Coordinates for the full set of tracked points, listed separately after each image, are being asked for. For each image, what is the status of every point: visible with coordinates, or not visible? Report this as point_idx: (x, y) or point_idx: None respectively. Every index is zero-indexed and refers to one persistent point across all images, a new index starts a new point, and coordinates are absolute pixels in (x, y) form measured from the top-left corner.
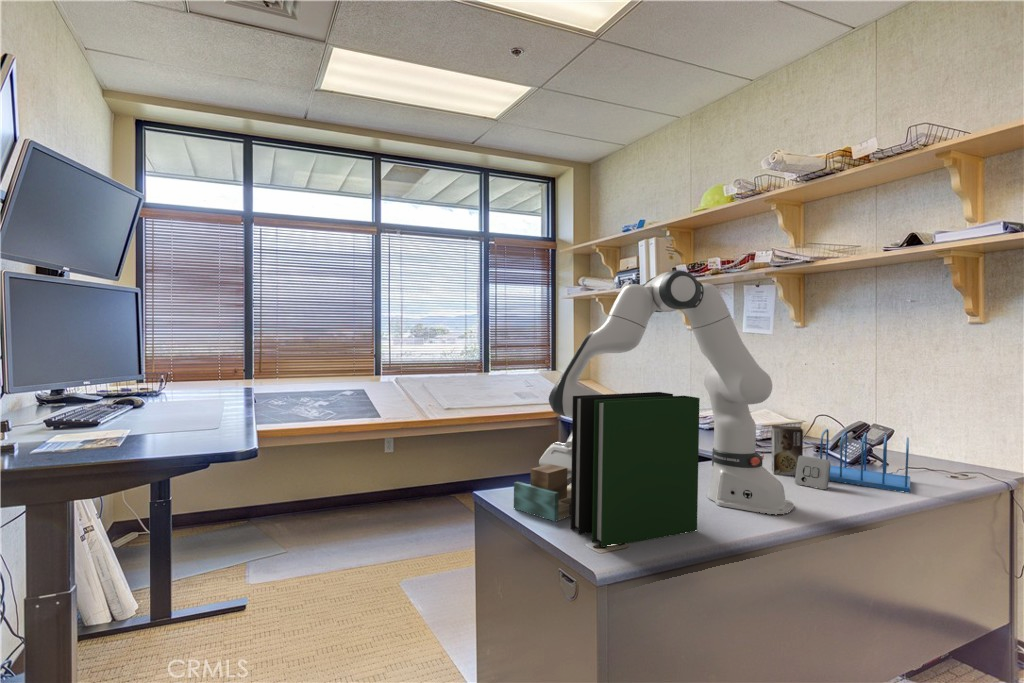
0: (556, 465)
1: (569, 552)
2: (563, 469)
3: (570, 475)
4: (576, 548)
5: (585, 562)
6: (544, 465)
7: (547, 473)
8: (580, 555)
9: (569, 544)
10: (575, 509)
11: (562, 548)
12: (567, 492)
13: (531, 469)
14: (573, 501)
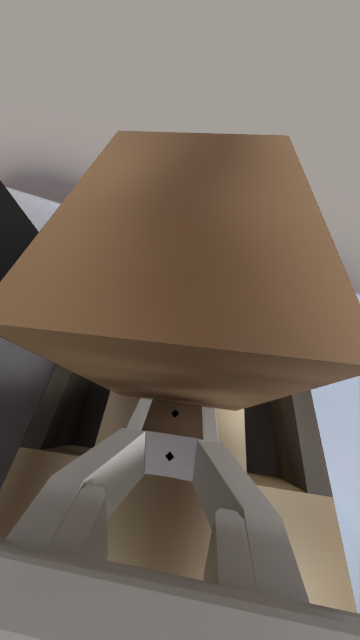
0: (207, 340)
1: (41, 200)
2: (31, 252)
3: (52, 498)
4: (32, 212)
5: (11, 191)
6: (327, 241)
7: (125, 136)
8: (21, 200)
9: (48, 217)
10: (18, 230)
11: (56, 204)
12: (161, 506)
13: (278, 140)
14: (3, 198)
